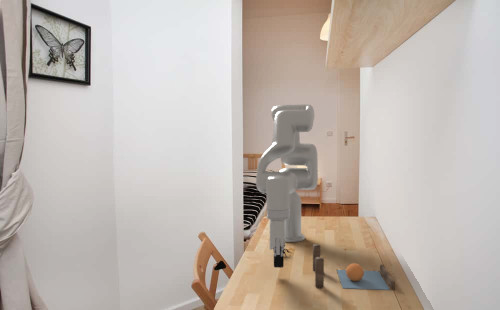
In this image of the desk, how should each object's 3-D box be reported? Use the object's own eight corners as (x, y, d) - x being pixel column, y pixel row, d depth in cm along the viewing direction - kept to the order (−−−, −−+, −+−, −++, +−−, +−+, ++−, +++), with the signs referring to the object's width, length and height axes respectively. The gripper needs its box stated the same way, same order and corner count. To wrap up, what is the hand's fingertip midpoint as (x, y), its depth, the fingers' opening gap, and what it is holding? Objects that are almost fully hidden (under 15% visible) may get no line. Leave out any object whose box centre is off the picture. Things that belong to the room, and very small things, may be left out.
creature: (286, 254, 145) (268, 252, 142) (289, 241, 145) (271, 239, 142) (295, 261, 138) (276, 259, 135) (298, 247, 138) (279, 245, 135)
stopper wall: (380, 271, 124) (380, 264, 124) (383, 271, 124) (383, 264, 124) (391, 290, 110) (391, 282, 110) (394, 290, 110) (394, 282, 110)
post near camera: (314, 284, 115) (315, 256, 114) (323, 284, 115) (323, 257, 114) (315, 288, 112) (315, 259, 112) (324, 288, 112) (324, 260, 111)
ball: (364, 264, 119) (359, 280, 120) (348, 259, 120) (343, 274, 121) (367, 269, 114) (361, 286, 114) (349, 263, 115) (344, 280, 115)
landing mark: (336, 270, 126) (336, 269, 126) (378, 271, 124) (378, 271, 124) (342, 288, 112) (342, 287, 112) (389, 290, 110) (389, 289, 110)
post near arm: (312, 268, 127) (312, 243, 127) (320, 269, 127) (320, 244, 126) (313, 271, 125) (313, 246, 124) (320, 272, 124) (320, 246, 124)
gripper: (268, 207, 127) (268, 257, 130) (265, 219, 113) (266, 276, 115) (289, 207, 127) (290, 258, 129) (289, 219, 112) (289, 276, 114)
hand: (278, 266), depth 122 cm, fingers closed
